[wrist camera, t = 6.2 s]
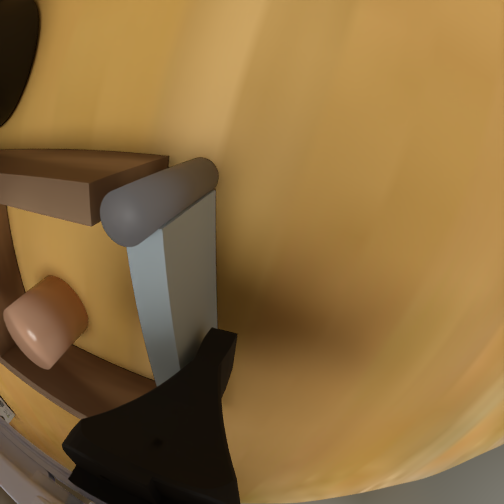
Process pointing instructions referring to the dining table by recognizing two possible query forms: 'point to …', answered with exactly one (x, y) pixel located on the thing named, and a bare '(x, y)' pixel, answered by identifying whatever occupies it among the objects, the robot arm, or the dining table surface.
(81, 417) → the cubby
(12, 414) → the tea box
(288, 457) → the dining table surface
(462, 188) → the dining table surface
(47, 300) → the tan rounded cylinder
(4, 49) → the mug
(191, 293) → the door
